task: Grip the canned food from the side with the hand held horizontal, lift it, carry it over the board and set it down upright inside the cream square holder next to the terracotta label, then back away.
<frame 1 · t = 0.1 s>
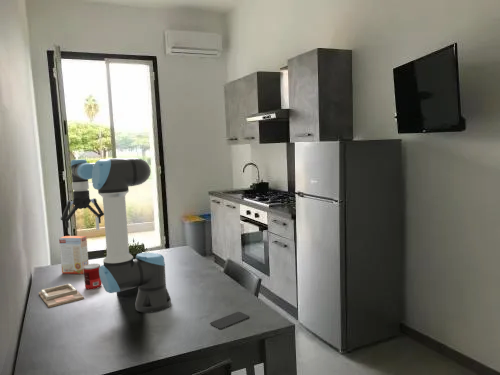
hand: (84, 232, 200), 28 cm above the table, tool pointing down, fingers open, 13 cm apart
canned food: (93, 287, 200), on the table
cracker box: (75, 272, 226), on the table
phone: (229, 322, 155), on the table
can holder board: (60, 296, 188), on the table
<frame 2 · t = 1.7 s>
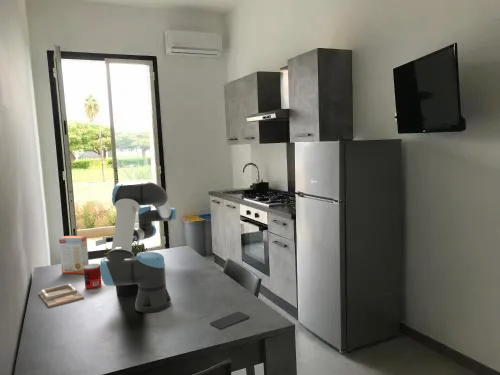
hand: (105, 244, 207), 20 cm above the table, tool horizontal, fingers open, 13 cm apart
nothing on the table moved.
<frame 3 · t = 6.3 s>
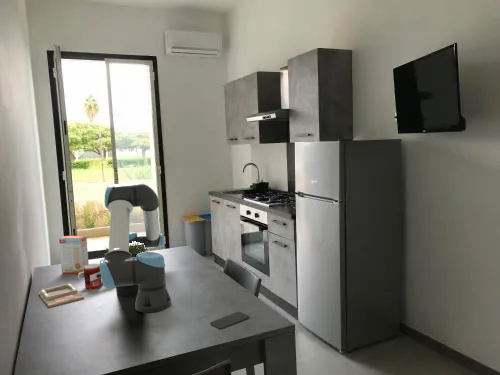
hand: (84, 277, 195), 7 cm above the table, tool horizontal, fingers closed on canned food, 8 cm apart
canned food: (93, 287, 200), on the table, touching gripper
everything else where it was.
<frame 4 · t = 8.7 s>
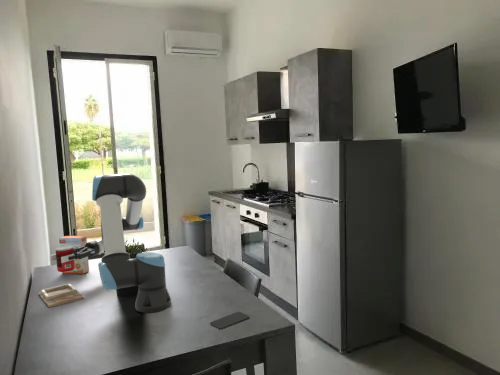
hand: (56, 259, 188), 18 cm above the table, tool horizontal, fingers closed on canned food, 8 cm apart
canned food: (66, 270, 193), point 11 cm above the table, touching gripper
everything else where it was.
when the fingers open (9 cm above the table, at t = 11.6 s): canned food drops 1 cm, resting on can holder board.
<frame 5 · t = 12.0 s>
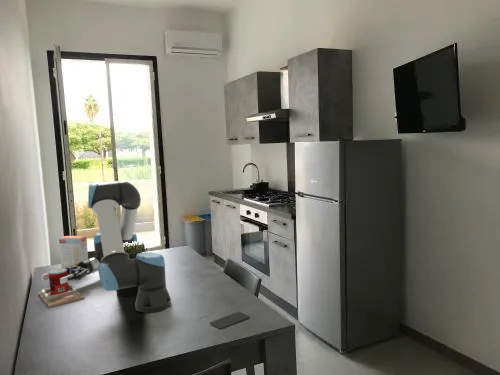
hand: (51, 279, 187), 9 cm above the table, tool horizontal, fingers open, 12 cm apart
canned food: (59, 293, 190), point 1 cm above the table, touching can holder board
everything else where it was.
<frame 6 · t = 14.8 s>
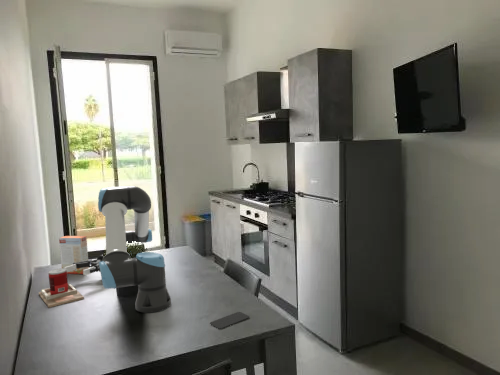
hand: (74, 271, 198), 9 cm above the table, tool horizontal, fingers open, 13 cm apart
nothing on the table moved.
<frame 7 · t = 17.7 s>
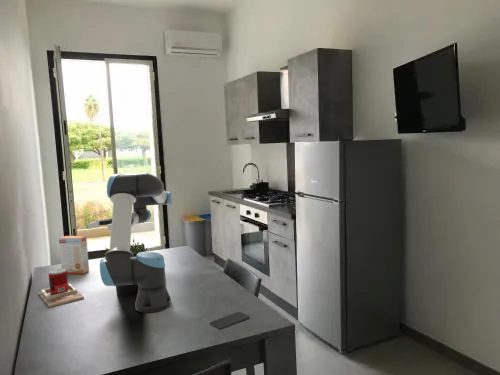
hand: (98, 226, 202), 30 cm above the table, tool horizontal, fingers open, 13 cm apart
nothing on the table moved.
at the end: canned food 0.1 cm from the target spot on the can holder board, point 0.8 cm above the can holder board's base; canned food tilted 0°; the gripper is holding nothing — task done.
